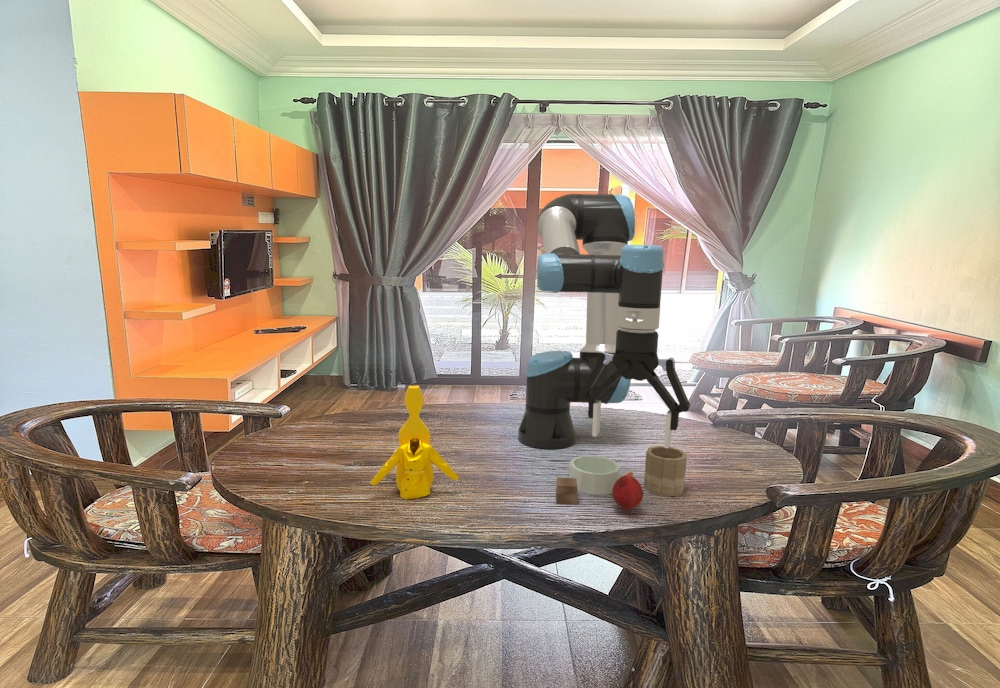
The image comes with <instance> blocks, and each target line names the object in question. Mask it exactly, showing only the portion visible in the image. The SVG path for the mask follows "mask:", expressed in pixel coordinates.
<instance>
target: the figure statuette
mask: <svg viewBox="0 0 1000 688" xmlns="http://www.w3.org/2000/svg"><path fill="white" fill-rule="evenodd" d="M404 405H405V407H406V411H407V412H408V415H409V416H408V418H407V419H406V420H405V422H404V423H403V425H402V427H401V428H399V431H398V444H399V446H397V448H396V449H395V450H396V451H395V450H394V451H395V452H394V451H393V454H392V455H391V456H390V457H389V459H388V460H387V461H386V462H385V463H384V464H383V465H382V466H381V468H380V469H379V470H378V472H377V473H376V474H375V475H374V477H373V478H372V480H371V481H370V482H369V483H370V485H372V486H377V485H378V484H379V483H380V482H381V481H382V480H383V479H384V478H385V477H386V476H387V475H389V474H390V472H392V471H393V470H394V469H395V482H396V487H397V489H398V491H400V492H399V497H400V498H401V499H403V500H414V499H420V498H421V497H427V496H428V495H430V494H431V488H432V486H433V482H434V468H433V465H434V466H435V467H436V468H437V469H438V470H440V471H441V472H442V473H443V474H445V476H447V477H448V478H449V479H450V480H452V481H453V482H454V481H457V480H459V479H460V476H459V475H458V474H457V473H456V472H455V471H454V470H453V468H452V467H451V466H450V465H449V464H448V463H447V462H446V461H445V460H444V458H443V457H442V455H440V453H439V452H438V451H437V450H436V449H435V448H434V447H433V446H432V445H431V444H430V443H431V434H430V430H429V428H428V427H427V425H426V424H425V423H424V421H423V420H422V419H421V418H420V413H421V411H422V409H423V406H424V396H423V393H422V390H421V388H420V386H419V385H418V384H417V385H408V387H407V389H406V392H405V395H404Z"/></svg>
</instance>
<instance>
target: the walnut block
mask: <svg viewBox="0 0 1000 688" xmlns="http://www.w3.org/2000/svg"><path fill="white" fill-rule="evenodd" d="M555 484H556V485H555V502H556V505H566V506H567V505H568V506H569V505H570V506H577V504H578V491H577V480H576V478H569V477H559V476H558V477H557V476H556V483H555Z"/></svg>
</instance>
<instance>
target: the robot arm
mask: <svg viewBox="0 0 1000 688" xmlns="http://www.w3.org/2000/svg"><path fill="white" fill-rule="evenodd" d="M536 224H537V231H538V233H539V236H540V238H542V241H543V242H542V243H543V250H544V251H543V252H544V253H542V254H540V255H539V256H538V258H537V267H536V285H537V286H536V287H537V288H538V290H540V291H541V292H552V293H555V294H556V293H586V298H587V299H586V323H585V324H586V325H585V327H586V332H585V335H586V336H585V345H584V346H583V347H582V348H581V349H580V350H579V357H574V356H573V353H572V352H570V351H567V350H549V351H543V352H539V353H535V354H533V355H531V356H530V357H529V358H528V359H527V364H526V372H525V376H526V388H525V389H526V390H525V411H524V413H523V416H522V419H521V421H520V424H519V427H518V432H517V437H518V439H517V440H518V441H519V442H520V443H522V444H523V445H526V446H528V447H531V448H535V449H536V448H537V449H545V450H551V449H552V450H556V449H564V448H567V447H570V446H572V445H574V444H575V442H576V430H575V427H574V423H573V421H572V420H573V419H572V416H571V411H570V410H571V408H570V407H571V403H583V404H586V403H588V408H587V409H588V411H587V412H588V413H587V416H588V419H592V428H591V434H592V435H591V437H594V438H596V437H597V436H598V435H599V434H600V431H601V412H602V411H601V409H602V404H605V405H608V404H620V403H622V402H623V401H624V400H626V398H627V396H628V393H629V390H630V387H631V382H632V381H631V380H635V381H640V382H643V381H644V380H646V382H648V384H649V385H651V387H653V390H654V391H655V392H656V394H657V395H658V396H659V398H660V399H661V400H662V402H664V405H665V406H666V407H667V409H669V410H667V412H666V420H665V429H664V432H665V433H664V444H663V446H664V448H669V447H671V445H672V444H671V443H672V442H671V441H672V431H677V429H678V427H679V420H680V418H679V417H680V414H681V413H686V412H689V410H690V407H691V403H690V402H689V398H688V396H687V394H686V393H685V390H684V388H683V384H682V383H681V380H680V378H679V375H678V374H677V370H676V363H675V359H674V357H669V358H659V357H658V344H659V343H658V342H659V333H658V331H656V330H657V329H659V327H660V318H661V317H660V316H661V314H660V313H661V296H662V286H663V285H662V284H663V270H664V268H665V263H664V249H663V247H661V246H660V245H657V244H656V245H655V244H629V243H628V242H631V241H633V239H634V237H635V234H636V214H635V209H634V205H633V202H632V200H631V198H629V197H628V196H626V195H623V194H614V193H608V194H602V193H600V194H598V193H597V194H596V193H593V194H590V193H587V194H585V193H584V194H583V193H582V194H581V193H568V194H564V195H561V196H559V197H556V198H554V199H553V200H551V201H549V202H548V203H547V204H546V205H545V206H544V207H542V209H541V211H540V213H539V214H538V217H537V223H536ZM578 240H580V241H582V249H584V251H586V253H587V254H582V253H581V250H580V248H579V244H578V243H579V242H578ZM658 366H659V367H661V368H662V371H664V372H665V373H666V375H667V378H668V381H669V383H670V385H671V388H672V389H673V390H672V391H673V393H674V395H675V397H676V400H677V401H676V400H675V398H674V397H673V396H672V394H671V393H670V392H669V390H668V389H667V387H666V386H665V385H664V383H663V382H662V381H661V380H660V378H659V376H658V375H657V373H656V372H655V371H656V369H657V368H658Z"/></svg>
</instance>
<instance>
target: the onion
mask: <svg viewBox="0 0 1000 688" xmlns="http://www.w3.org/2000/svg"><path fill="white" fill-rule="evenodd" d="M611 494H612V498H613V501H614V503H615V504H616V505H617V506H618V507H619V508H621V509H622V510H624V511H625V512H629V511H631V510H632V509H634V508H636V507H638V506H639V505H640V504H641V502H642V501H643V498H644V489H643V487H642V485H641V483H640V482H639V481H638V479H637V478H635V477H634V473H633V472H632V471H628V472H627V473H626V474H625V475H622V476H620V478H619V479H618V480H617V481H616V482H615V484H614V486H613V489H612V493H611Z"/></svg>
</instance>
